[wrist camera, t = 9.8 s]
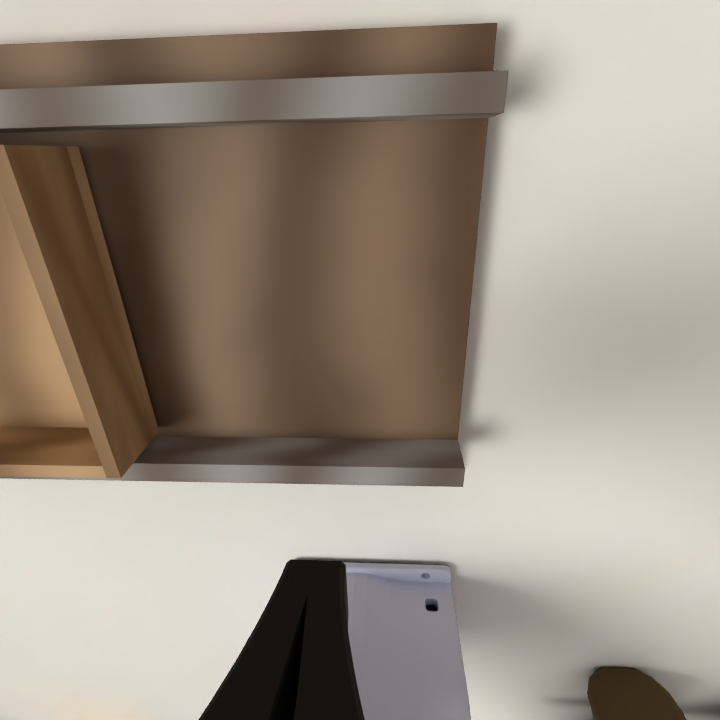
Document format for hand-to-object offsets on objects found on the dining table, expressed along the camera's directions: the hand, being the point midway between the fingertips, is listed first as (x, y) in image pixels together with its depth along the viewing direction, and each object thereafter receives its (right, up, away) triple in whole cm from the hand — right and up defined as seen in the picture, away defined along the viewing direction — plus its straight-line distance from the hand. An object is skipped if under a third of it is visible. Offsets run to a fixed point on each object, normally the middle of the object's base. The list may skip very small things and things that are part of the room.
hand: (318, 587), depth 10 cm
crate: (-14, +8, +7) cm, 17 cm away
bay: (-8, +8, +8) cm, 14 cm away
